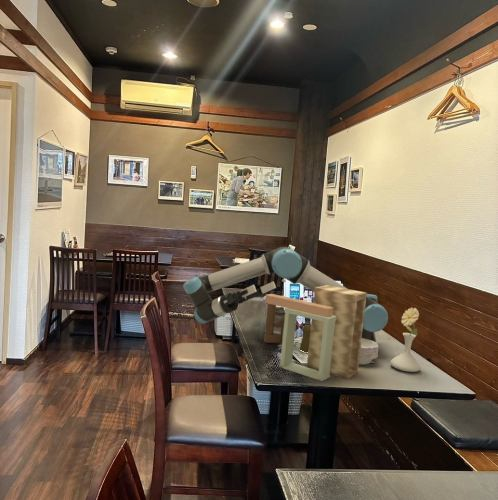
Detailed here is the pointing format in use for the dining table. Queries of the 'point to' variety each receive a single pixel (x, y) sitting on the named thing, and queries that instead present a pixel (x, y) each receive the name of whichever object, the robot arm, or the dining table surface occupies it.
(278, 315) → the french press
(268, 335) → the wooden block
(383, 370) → the dining table surface
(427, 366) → the dining table surface
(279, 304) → the salmon orange bar
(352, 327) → the birch stand
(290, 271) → the robot arm
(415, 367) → the flower in vase
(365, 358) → the paper bowls
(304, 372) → the pale green rectangular frame
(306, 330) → the cork
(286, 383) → the dining table surface
